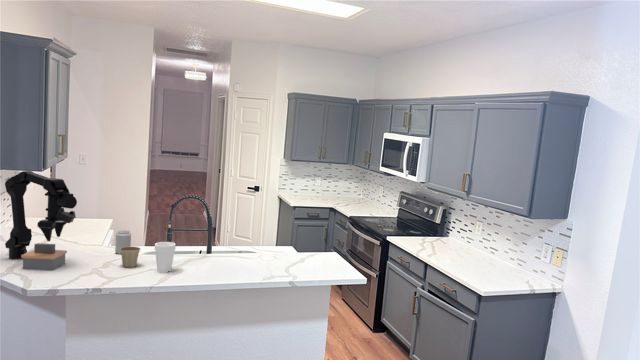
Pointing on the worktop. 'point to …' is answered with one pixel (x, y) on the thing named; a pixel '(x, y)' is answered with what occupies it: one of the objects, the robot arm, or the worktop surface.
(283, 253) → the worktop surface
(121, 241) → the can
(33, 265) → the storage box
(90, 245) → the worktop surface
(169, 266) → the foam cup
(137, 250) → the flower pot
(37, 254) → the lid
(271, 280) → the worktop surface
